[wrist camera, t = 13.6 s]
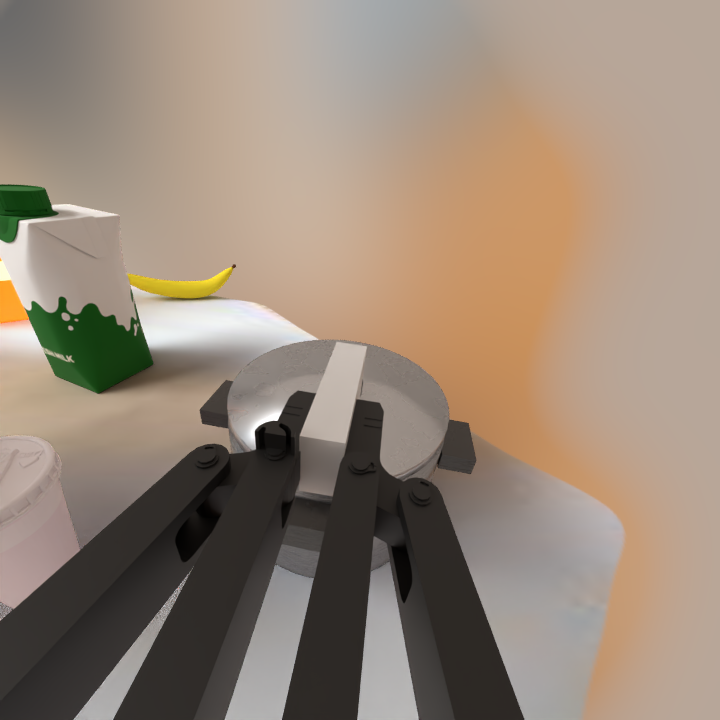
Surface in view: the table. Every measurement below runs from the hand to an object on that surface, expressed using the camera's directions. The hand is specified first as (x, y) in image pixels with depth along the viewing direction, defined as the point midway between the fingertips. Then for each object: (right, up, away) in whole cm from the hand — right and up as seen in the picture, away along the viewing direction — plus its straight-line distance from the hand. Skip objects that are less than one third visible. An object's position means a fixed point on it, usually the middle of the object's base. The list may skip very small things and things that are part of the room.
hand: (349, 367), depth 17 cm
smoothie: (-20, -14, +5) cm, 25 cm away
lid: (-1, -3, +8) cm, 9 cm away
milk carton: (-30, -1, +24) cm, 39 cm away
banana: (-32, +11, +44) cm, 56 cm away
